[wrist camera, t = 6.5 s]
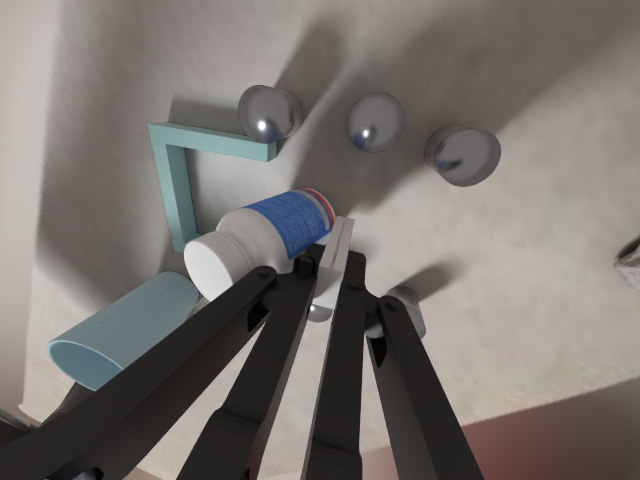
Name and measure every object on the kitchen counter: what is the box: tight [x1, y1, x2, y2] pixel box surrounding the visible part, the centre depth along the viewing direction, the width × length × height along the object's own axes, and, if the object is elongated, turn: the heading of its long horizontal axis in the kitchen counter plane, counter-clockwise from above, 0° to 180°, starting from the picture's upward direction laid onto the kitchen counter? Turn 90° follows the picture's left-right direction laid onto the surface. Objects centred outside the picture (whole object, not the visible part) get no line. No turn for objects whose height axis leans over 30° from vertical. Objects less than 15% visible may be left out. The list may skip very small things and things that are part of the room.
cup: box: [47, 271, 199, 391], centre depth 24 cm, size 8×8×10 cm
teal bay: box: [147, 122, 277, 253], centre depth 20 cm, size 9×11×2 cm
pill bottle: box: [184, 188, 336, 302], centre depth 16 cm, size 6×5×10 cm
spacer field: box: [238, 85, 501, 340], centre depth 19 cm, size 16×18×4 cm
